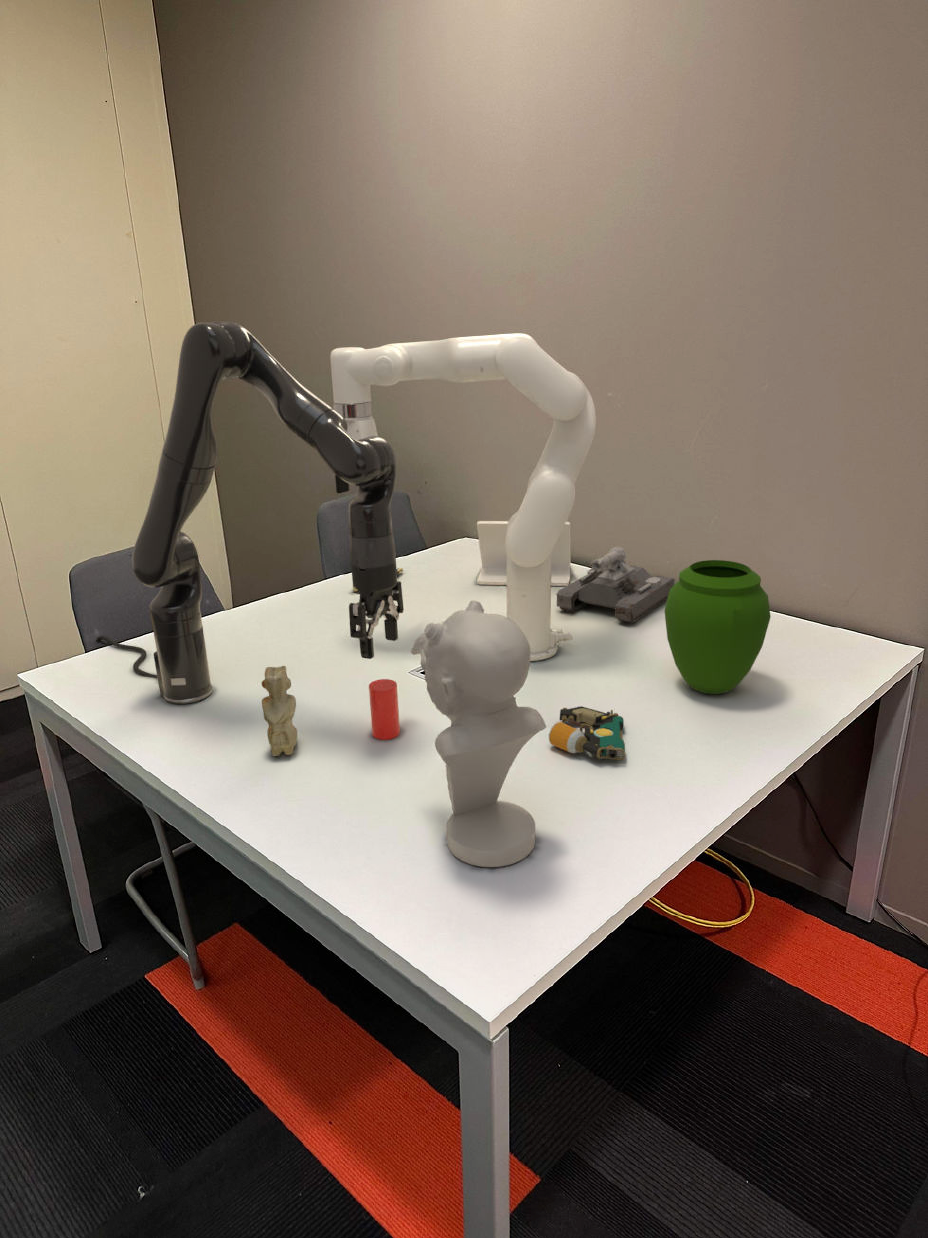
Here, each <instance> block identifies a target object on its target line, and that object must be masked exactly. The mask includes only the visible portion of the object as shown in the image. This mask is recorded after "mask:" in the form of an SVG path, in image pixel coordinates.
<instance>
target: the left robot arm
mask: <svg viewBox="0 0 928 1238" xmlns="http://www.w3.org/2000/svg"><path fill="white" fill-rule="evenodd" d="M178 360H179V361H178V368H177V374H176V375H177V376H176V385H175V393H174V398H173V403H172V408H171V412H170V418H169V421H168V422H169V423H168V426H167V432H166V435H165V438H164V442H163V445H162V449H161V453H160V457H159V462H158V467H157V472H156V477H155V481H154V484H153V488H152V492H151V495H150V499H149V503H148V508H147V511H146V514H145V517H144V519H143V522H142V526H141V528H140V530H139V532H138V536H137V538H136V541H135V543H134V547H133V549H132V555H131V566H132V570H133V573H134V575H135V577H136V579H137V580H138V582H139V583H140V584H142V585H143V586H144V587H147V588H152V589H155V588H160V589H159V591H158V593H157V594H156V596H155V597H154V598H153V599H152V600H151V601H150V604H149V615H150V619H151V625H152V632H153V637H154V643H155V650H156V651H155V652H153V662H154V666H155V672H156V674H154V673H149V672H147V671H144V670H142V669H141V668H139V665H140V664H141V662H143V661H144V660H145V659H146V657H147V651H146V650H145V649H144V648H142V647H139V646H134V645H129V644H122V643H120V642H117V641H115V640H113V639H112V638H110V637H108V636H106V635H98V637H96V639H95V642H96V643H97V642H101V641H102V640H103V641H105V642H107V643H109V644H110V645H112V646H114V647H116V648H120V649H124V650H130V651H136V652H139V653H141V655H140V657H138V658H137V659H136V660H135V662H134V663H133V664H132V668H133V670H134V671H135V673H137V674H138V675H139V676H143V677H146V678H152V679H157V685H158V690H159V694H160V695H159V696H160V697H161V698H163V699H164V701H166V702H168V703H170V704H175V705H184V704H185V705H187V704H193V703H196V702H199V701H202V700H204V699H207V698H208V697H209V696H211V694H212V693H213V686H212V682H211V674H210V666H209V660H208V654H207V648H206V647H207V646H206V639H205V634H204V625H203V620H202V612H201V607H200V606H201V601H202V597H203V590H202V578H201V566H200V559H199V553H198V549H197V547H196V545H195V543H194V541H193V540H192V538H191V537H190V536H189V535H187V533H184V532H182V529H183V527H184V525H185V523H186V522H187V520H188V519H189V518H190V516H191V515H192V513H193V512H194V510H196V508H197V506H199V504H200V503H201V501H202V499H203V498H204V496H205V495H206V493H207V492H208V490H209V488H210V485H211V482H212V479H213V476H214V472H215V469H216V466H217V461H218V456H219V444H218V440H217V435H216V432H215V428H214V425H213V420H212V411H213V406H214V402H215V398H216V394H217V391H218V388H219V386H220V384H221V381H223V380H224V381H225V380H232V379H239V380H241V381H242V382H244V383H247V384H248V385H250V386H252V387H253V388H255V389H256V390H257V391H259V392H260V393H261V394H262V395H263V396H265V398H266V399H267V401H268V402H269V403H270V405H271V406H272V408H273V411H274V412H275V413H276V415H277V417H278V418H279V420H280V421H281V422H282V424H283V425H284V426H285V427H286V428H287V429H288V430H290V431H291V433H293V434H295V436H297V437H298V438H299V439H301V440H302V441H303V442H305V443H306V444H307V445H309V446H310V447H312V448H313V449H314V450H315V451H316V452H317V453H318V454H319V456H320V458H322V460H323V461H324V462H325V464H326V465H327V466H328V467H329V469H330V470H331V471H333V472H334V473H335V474H334V475H337V476H338V477H339V478H340V479H342V480H343V481H345V482H346V483H348V484H349V485H351V486H355V487H357V494H356V495H355V497H353V498H352V500H351V501H350V502H349V504H348V512H347V513H348V524H349V556H350V568H351V578H352V580H351V581H352V587H353V586H354V588H355V589H357V590H358V591H357V592H359V600H358V602H350V603H349V605H348V615H349V617H348V618H349V631H350V632H349V634H350V638H351V639H352V638H353V639H358V641H359V651H360V657H361V658H362V659H367V660H371V659H373V658H374V657H375V649H374V637H373V634H374V631H375V628H376V627H377V626H378V625H379V621H380V619H381V618H382V617H383V618H384V619H383V623H384V625H383V626H384V638H385V639H386V640H387V641H391V642H396V641H397V640H399V629H398V620H400V619H399V618H400V614H403V613H404V610H405V609H404V598H403V588H402V582H401V581H398V575H397V570H396V569H397V557H396V544H395V539H394V533H393V519H392V507H391V506H392V500H393V496H394V490H395V482H396V475H397V461H396V455H395V452H394V449H393V447H392V445H391V444H390V443H389V441H387V440H386V439H385V438H383V437H382V436H371V437H367V438H363V439H360V440H356V439H354V438H352V437H351V436H350V435H349V434H348V433H347V429H348V425H347V422H346V420H345V419H344V417H343V416H342V415H340V414H339V413H338V412H337V411H335V410H334V409H333V407H331V405H329V404H328V403H327V402H325V401H324V400H322V399H321V398H320V397H319V396H317V395H316V394H314V393H313V392H312V391H310V389H308V388H307V387H306V386H304V385H303V384H302V383H301V382H300V381H299V380H297V379H296V378H295V377H294V375H292V374H291V373H290V372H289V371H288V370H287V369H286V368H285V367H284V366H283V365H282V364H281V363H280V362H279V361H278V360H277V359H276V358H275V357H274V356H273V355H272V354H271V353H270V352H269V351H268V350H267V349H266V348H265V347H264V346H263V345H262V344H261V342H260V341H259V340H258V339H257V338H256V337H255V336H254V335H253V334H252V333H251V332H250V331H249V330H248V329H246V328H245V327H244V326H243V325H242V324H239V323H237V322H235V321H228V320H224V321H223V320H220V321H219V320H217V321H203V322H198V323H195V324H193V325H192V326H190V328H188V330H187V331H186V332H185V335H184V336H183V340H182V343H181V347H180V353H179V359H178ZM333 472H332V473H333ZM395 602H396V603H397V605H396V603H395ZM367 626H368V627H367Z"/></svg>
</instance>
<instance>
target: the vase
mask: <svg viewBox="0 0 928 1238" xmlns="http://www.w3.org/2000/svg"><path fill="white" fill-rule="evenodd" d="M761 582H762V577H761V576H760V575H759V574H758V573H757V572H755V571H754V570H753V569H752V568H751V567H750V566H748V565H746V564H743V563H741V562H737V561H732V560H723V559H722V560H721V559H710V560H709V559H708V560H707V559H706V560H701V561H696V562H694V563H692V564H690V565H689V566H687V567H685V568H684V569H681V570H680V572H679V574H678V580H677V582H675V583H674V586H673V587H672V588H671V589H670V591H669V595H668V598H667V600H666V601H665V604H664V605H665V606H664V619H665V620H664V621H665V628H666V637H667V638H666V639H667V642H668V645H669V649H670V651H671V655H672V658H673V661H674V664H675V666H676V668H677V670H678V671H679V674H680V675H681V677H682V678H683V680H684V682H686V683H687V685H688V687H690V688H692V689H693V690H695V691H697V692H699V693H702V694H708V695H720V694H725V693H729V692H731V691H732V690H734V688H736V687H737V686H738V685H740V683H742V681H743V680H744V679H745V678H746V676H747V675H748V674H749V673H750V671H751V669H752V667H753V665H754V664H755V662H756V660H757V658H758V656H759V654H760V652H761V650H762V648H763V645H764V642H765V638H766V635H767V632H768V629H769V624H770V621H771V617H772V616H771V609H770V602H769V601H770V600H769V596H768V593H767V592H766V591H765V590H764V588H763V587H762V586H761Z"/></svg>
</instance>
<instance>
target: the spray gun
mask: <svg viewBox="0 0 928 1238" xmlns="http://www.w3.org/2000/svg"><path fill="white" fill-rule="evenodd" d="M566 722H568V723H570V724H571V725H574V726H576V727H579V729H578V728H575V727H573V726H571V725H569V724H566ZM624 727H625V723H624V717H622V716H621V715H619V713H618V712H614V710H613V709H610V711H606V712H603V711H600V710H597V709H593V708H589V707H586V706H582V705H581V706H576V707H571V708H567V707H563V708H561V709H560V710H559V722H557V723H555V724H554V725H553V726H552V727H550V730H549V732H548V741H549V744H550V745H552V746H554V747H557V748H558V749H561V750H563V751H565V752H568V753H570V754H577V753H581V754H582V753H583V752H587V753H589V754H591V755H593V756H595V757H596V758H597V759H599V760H601V759H607V760H608V759H609V760H618V761H619V760H620V761H622V760H624V759H625V757H626V743H625V741H624V738H623V731H622V730H623V729H624ZM583 729H584V731H583Z"/></svg>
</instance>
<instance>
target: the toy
mask: <svg viewBox="0 0 928 1238" xmlns="http://www.w3.org/2000/svg"><path fill="white" fill-rule="evenodd" d="M626 557H627V556H626V551H625V549H624V548H622V547H621V546H614V547H612V548H611V549H610V550H609V552H608V553H607V554H605V555H604V556H601V557H599V558H598V559H597V557H596V558H594V559H593V560H592V561H590V562H589V563H590V564H591V565H592V567H591V568H590V569H589V570H587V573H586V575H584V576H582V577H580V578H578V579H577V580H575V581H573V582H570V583H569V585H567V586H563V587H562V588H560V589H559V590H558V591H557V592H556V607H558V608H559V609H560V610H562V611H566V612H572V613H575V612H577V611H579V610H581V609H582V608H585V607H586V606H588V605H592V606H598V607H602V608H603V607H604V608H609V609H613V610H614V618H615V619H617V620H618V621H621V622H626V623H631V624H634V623H635V622H637V621H638V620H640V619H641V618H642V617H644V616H645V615H647V614H648V613H650V612H651V611H652V610H654V609H655V608H657V607H659V606H660V605H661V604H663V603H664V602H667V598H668V595H669V591H670V589H671V588H672V587H673V586H674V585H675V580H676V579H675V578H673V577H668V576H663V575H656V576H655V577H654V576H651V574H650V573H649V572H648V571H647V570H646V568H644V567H641V566H635V565H629V564H628V563H627V562H626V561H625V559H626Z"/></svg>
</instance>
